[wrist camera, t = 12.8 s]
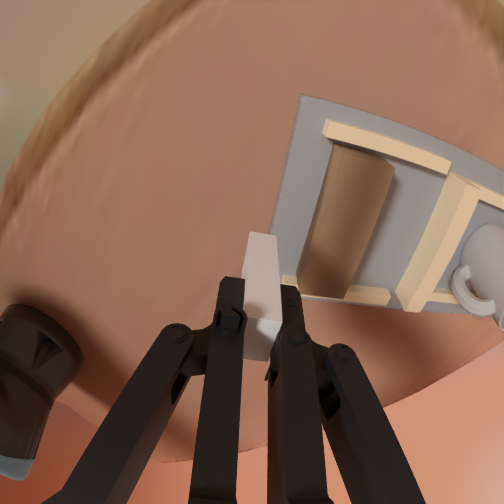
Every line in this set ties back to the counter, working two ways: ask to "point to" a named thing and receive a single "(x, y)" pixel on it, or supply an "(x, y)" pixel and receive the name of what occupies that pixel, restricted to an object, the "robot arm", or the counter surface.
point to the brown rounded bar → (342, 220)
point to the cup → (482, 273)
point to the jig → (389, 206)
